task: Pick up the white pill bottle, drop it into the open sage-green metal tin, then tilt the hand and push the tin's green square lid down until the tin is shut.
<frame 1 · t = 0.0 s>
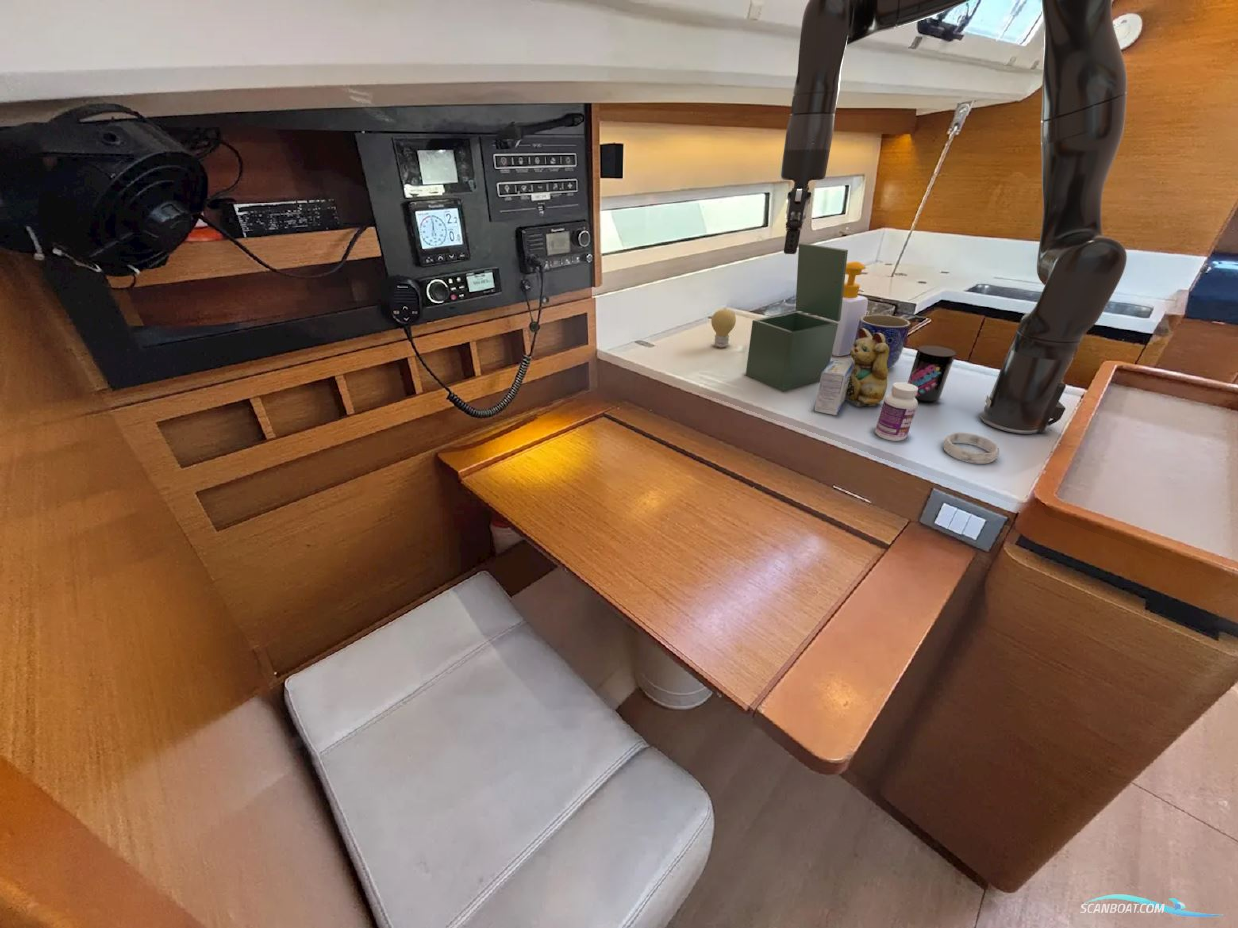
hand: (790, 250, 93), 29 cm above the table, tool pointing down, fingers open, 8 cm apart
green square lid: (819, 282, 109), point 21 cm above the table, hinge at 80.0°
planter: (872, 366, 123), on the table
decorative figurine: (861, 401, 105), on the table
soap bottle: (828, 348, 134), on the table
ring: (968, 453, 86), on the table
medicine box: (828, 407, 103), on the table
light bulb: (720, 347, 137), on the table
supplement container: (920, 399, 106), on the table
pill bottle: (890, 435, 92), on the table
tin: (785, 376, 117), on the table
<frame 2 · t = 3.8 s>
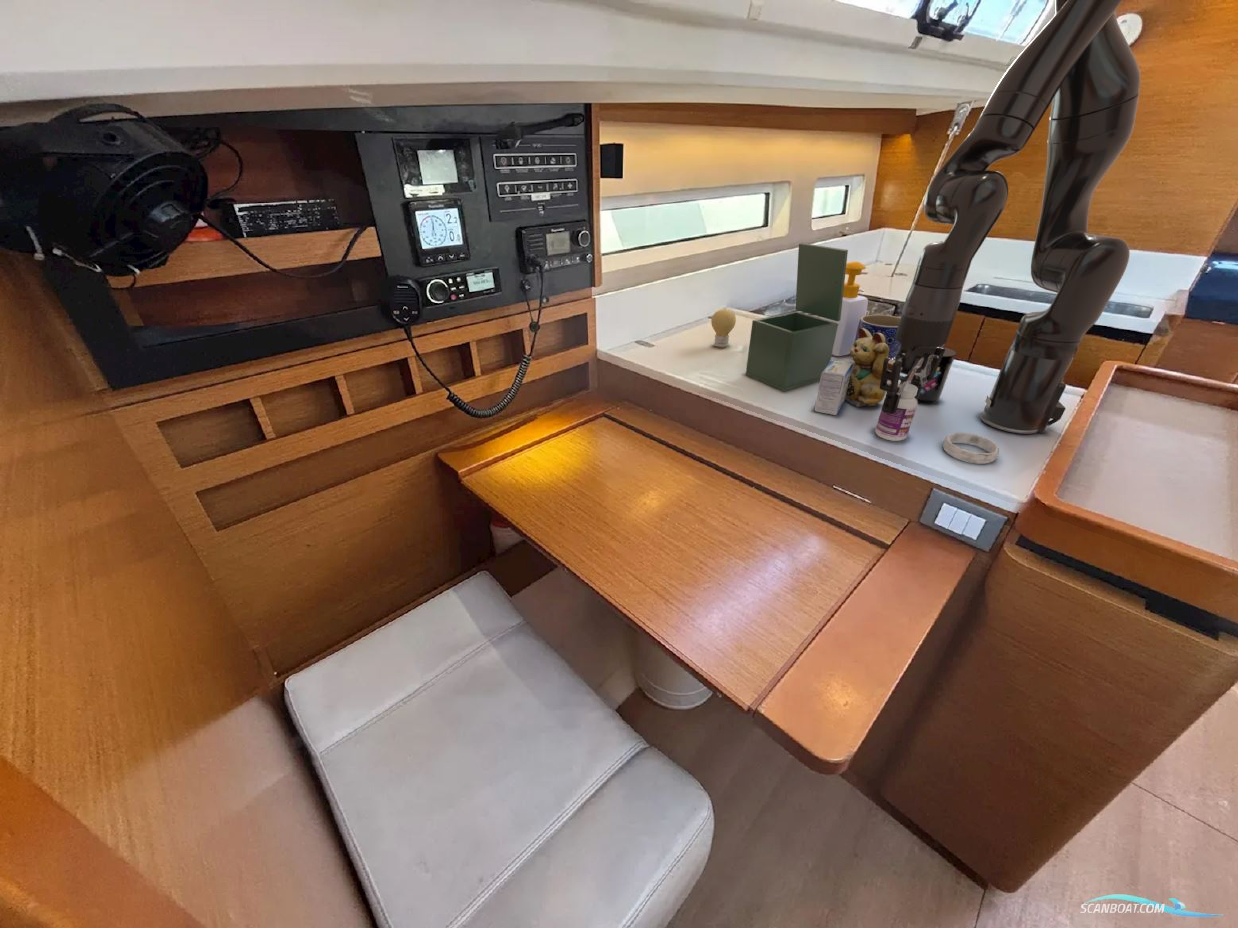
hand: (898, 407, 89), 5 cm above the table, tool pointing down, fingers closed on pill bottle, 5 cm apart
pill bottle: (890, 435, 92), on the table, touching gripper
everything else where it was.
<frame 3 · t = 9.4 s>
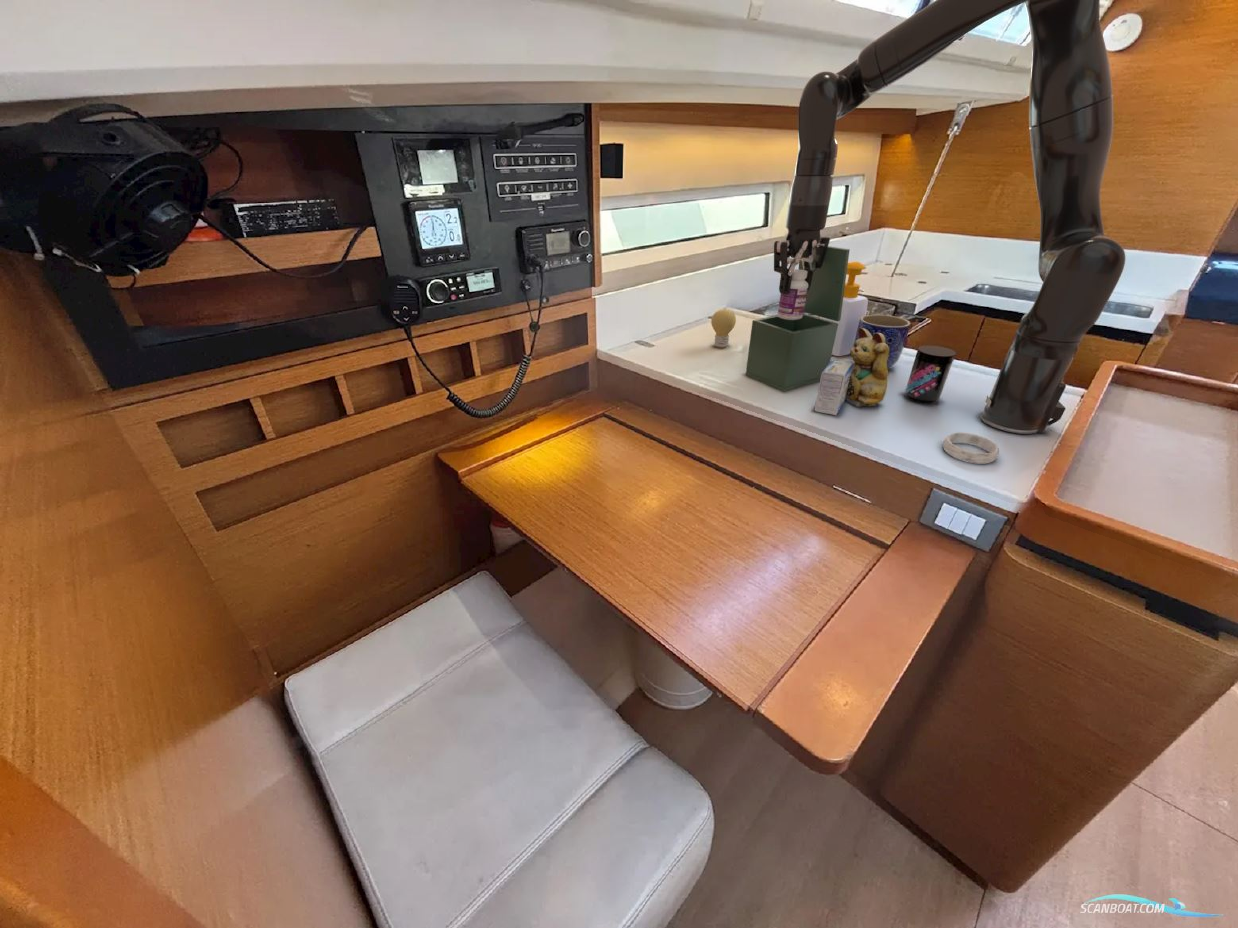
hand: (794, 291, 106), 20 cm above the table, tool pointing down, fingers closed on pill bottle, 5 cm apart
green square lid: (820, 282, 109), point 21 cm above the table, hinge at 82.0°
pill bottle: (789, 318, 109), point 14 cm above the table, touching gripper
everything else where it was.
when the fingers open (15 cm above the table, at t = 11.3 s): pill bottle drops 7 cm, resting on tin.
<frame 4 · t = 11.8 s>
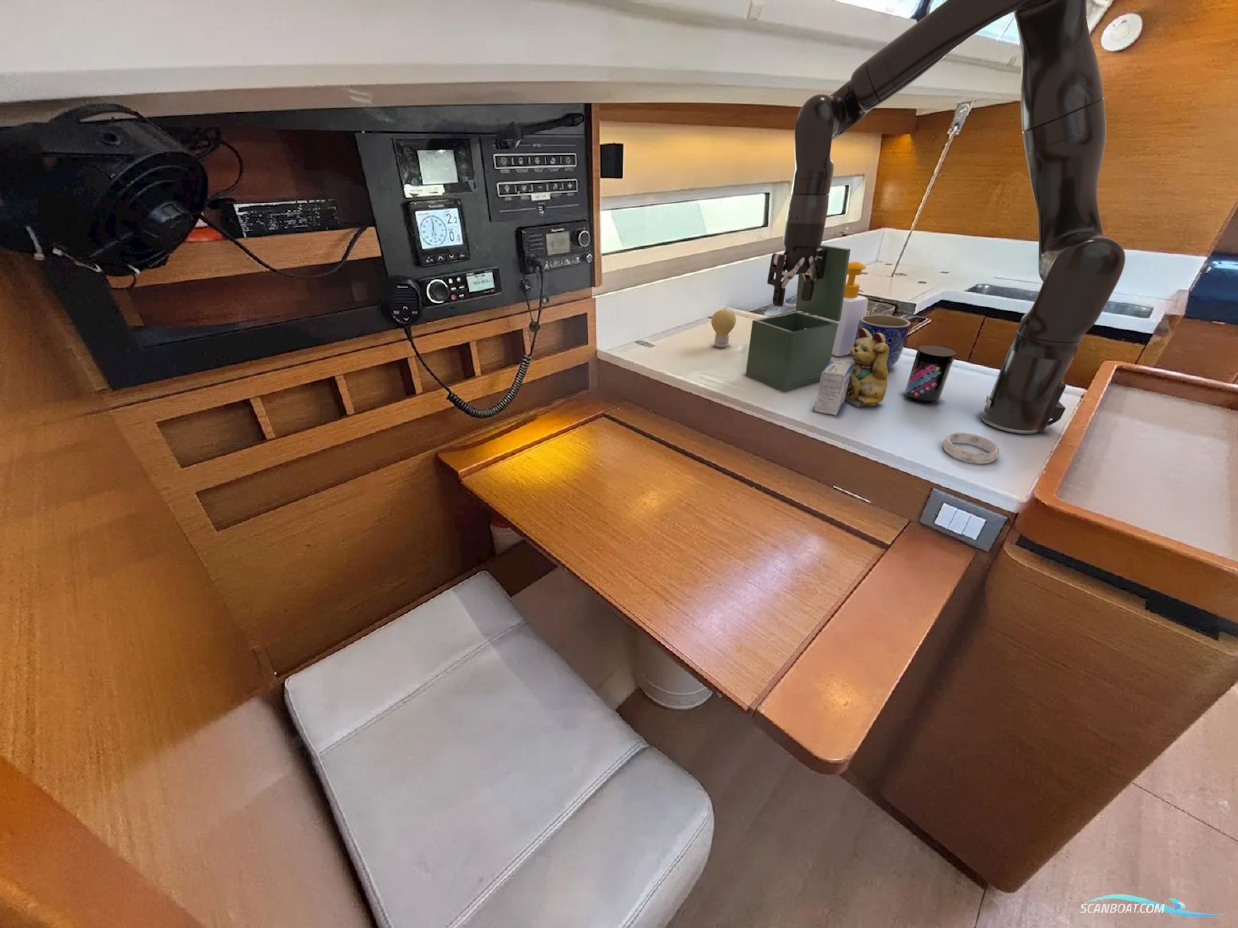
hand: (792, 303, 107), 17 cm above the table, tool pointing down, fingers open, 8 cm apart
green square lid: (820, 281, 109), point 21 cm above the table, hinge at 83.0°
pill bottle: (783, 369, 115), point 2 cm above the table, touching tin
everything else where it was.
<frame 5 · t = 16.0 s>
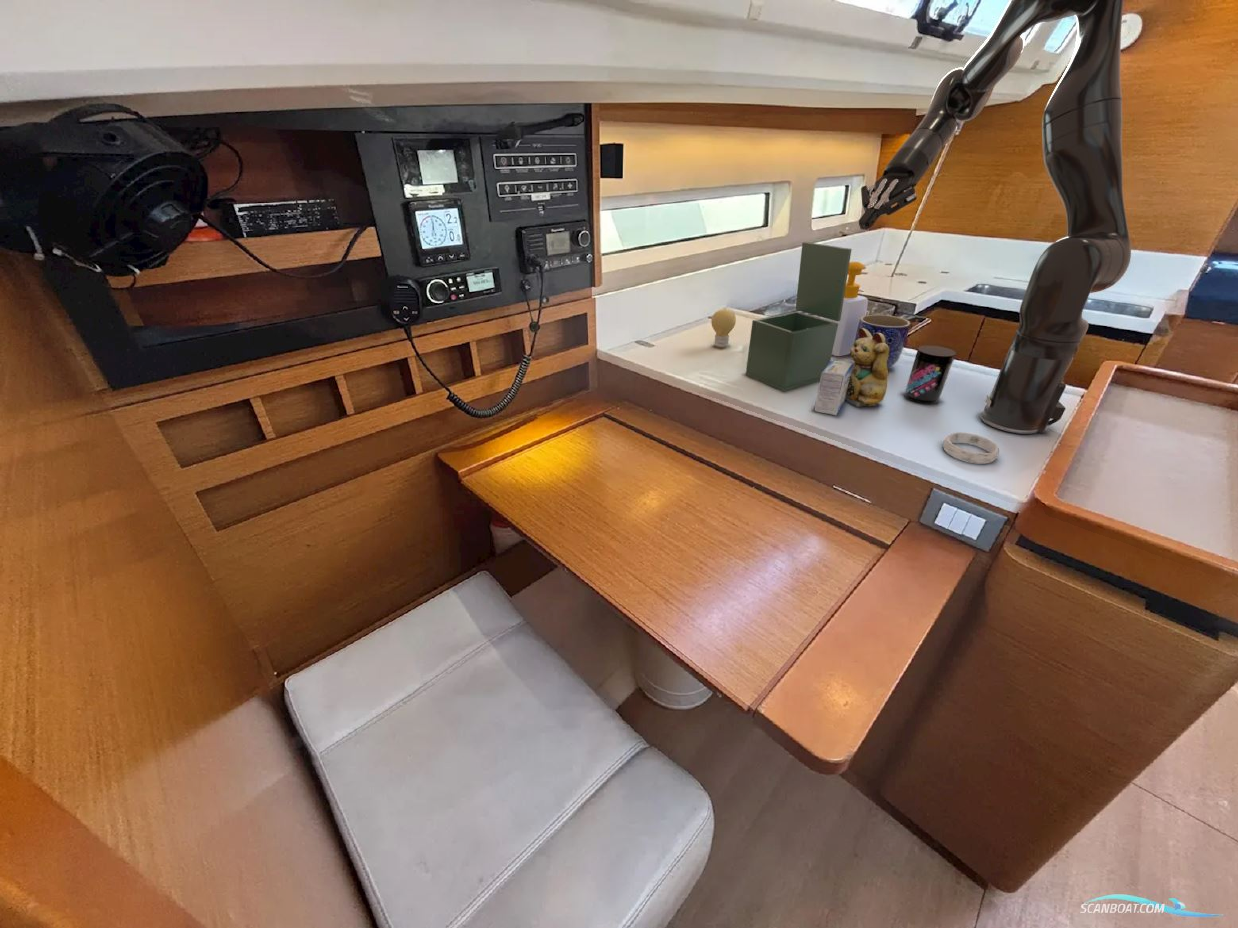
hand: (862, 227, 108), 31 cm above the table, tool tilted 45°, fingers closed
green square lid: (821, 281, 109), point 21 cm above the table, hinge at 84.3°
everything else where it was.
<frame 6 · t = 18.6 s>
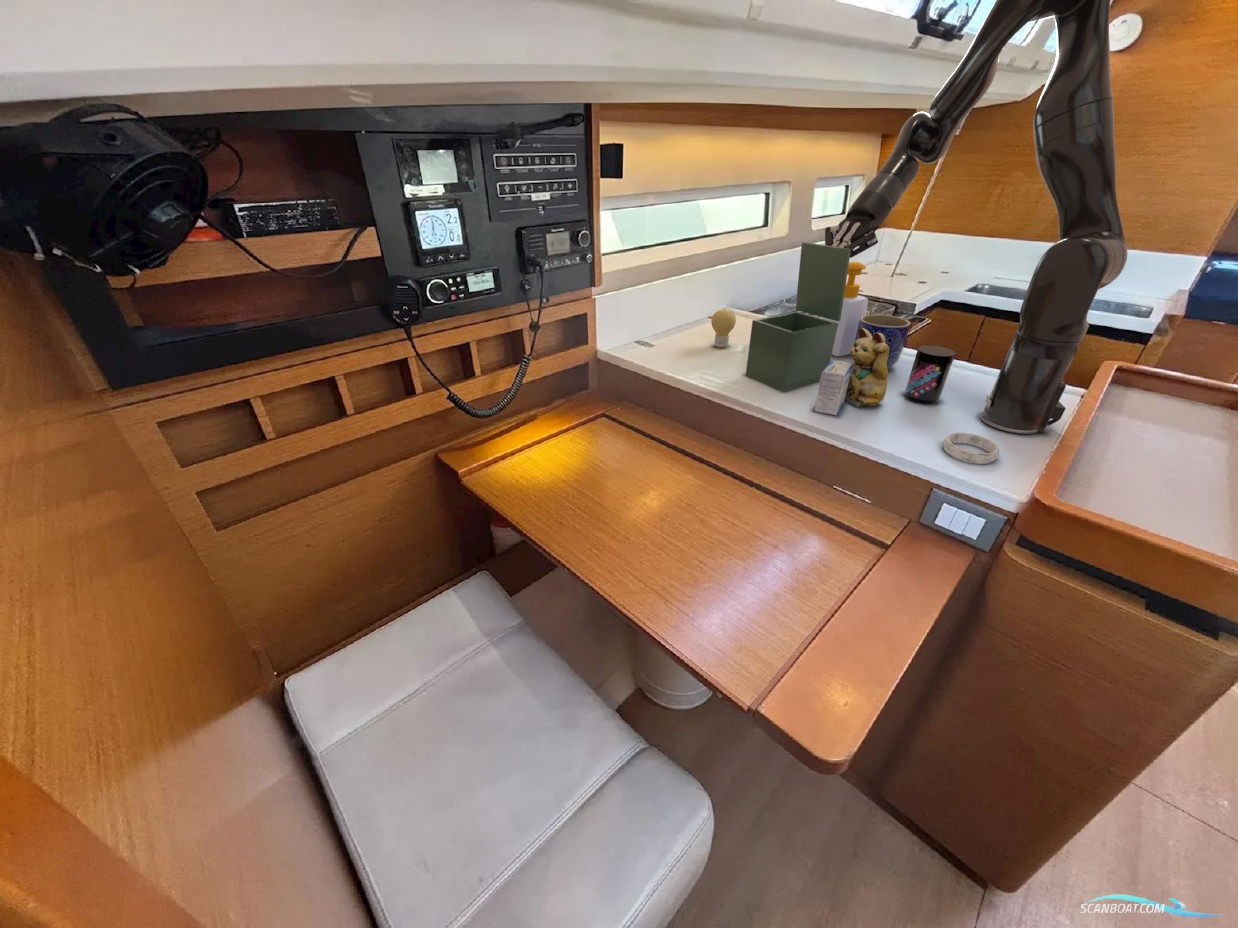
hand: (825, 269, 108), 23 cm above the table, tool tilted 45°, fingers closed
green square lid: (821, 281, 109), point 21 cm above the table, hinge at 83.5°, touching gripper
everything else where it was.
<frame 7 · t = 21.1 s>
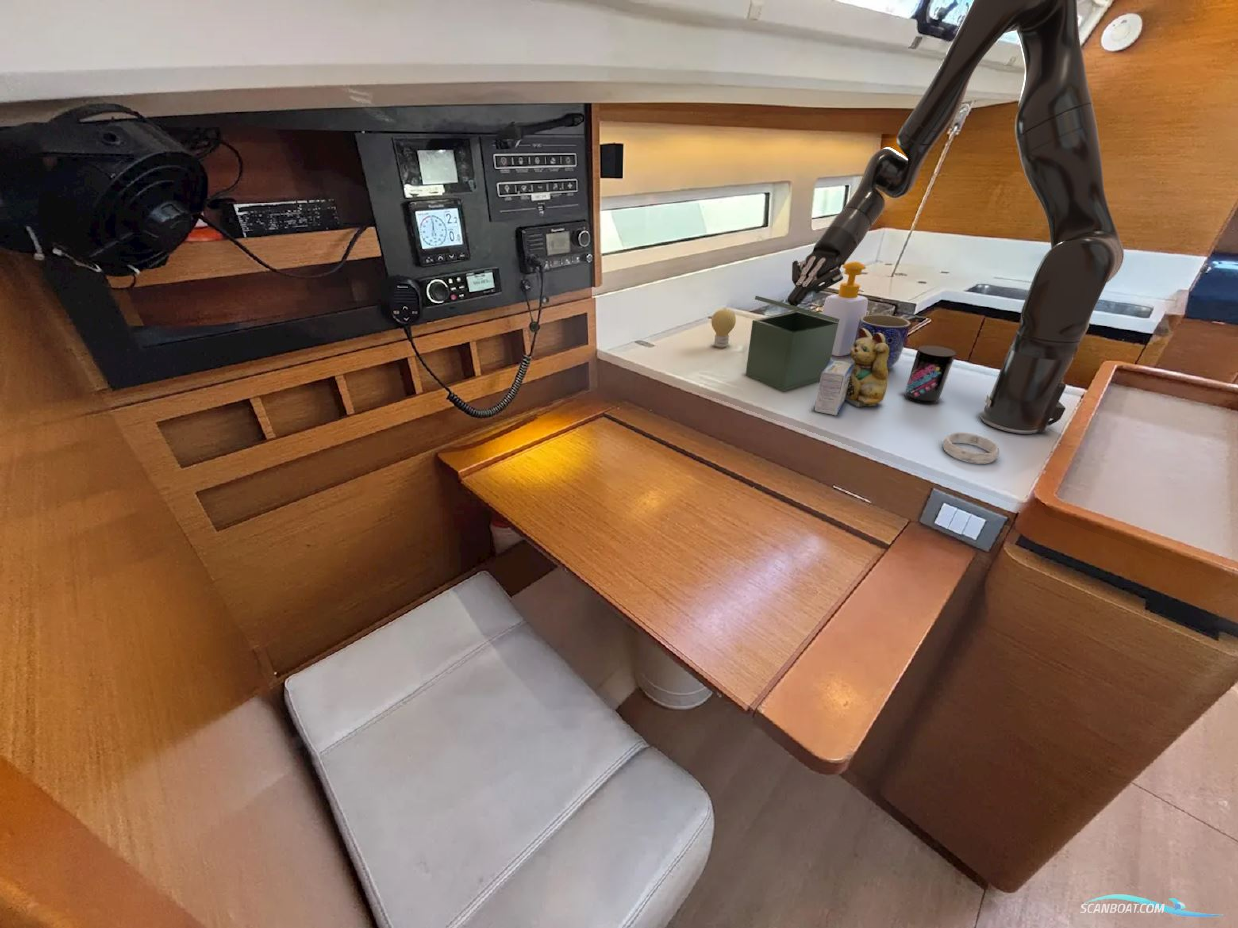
hand: (791, 303, 107), 17 cm above the table, tool tilted 45°, fingers closed
green square lid: (797, 309, 109), point 16 cm above the table, hinge at 17.8°, touching gripper
everything else where it was.
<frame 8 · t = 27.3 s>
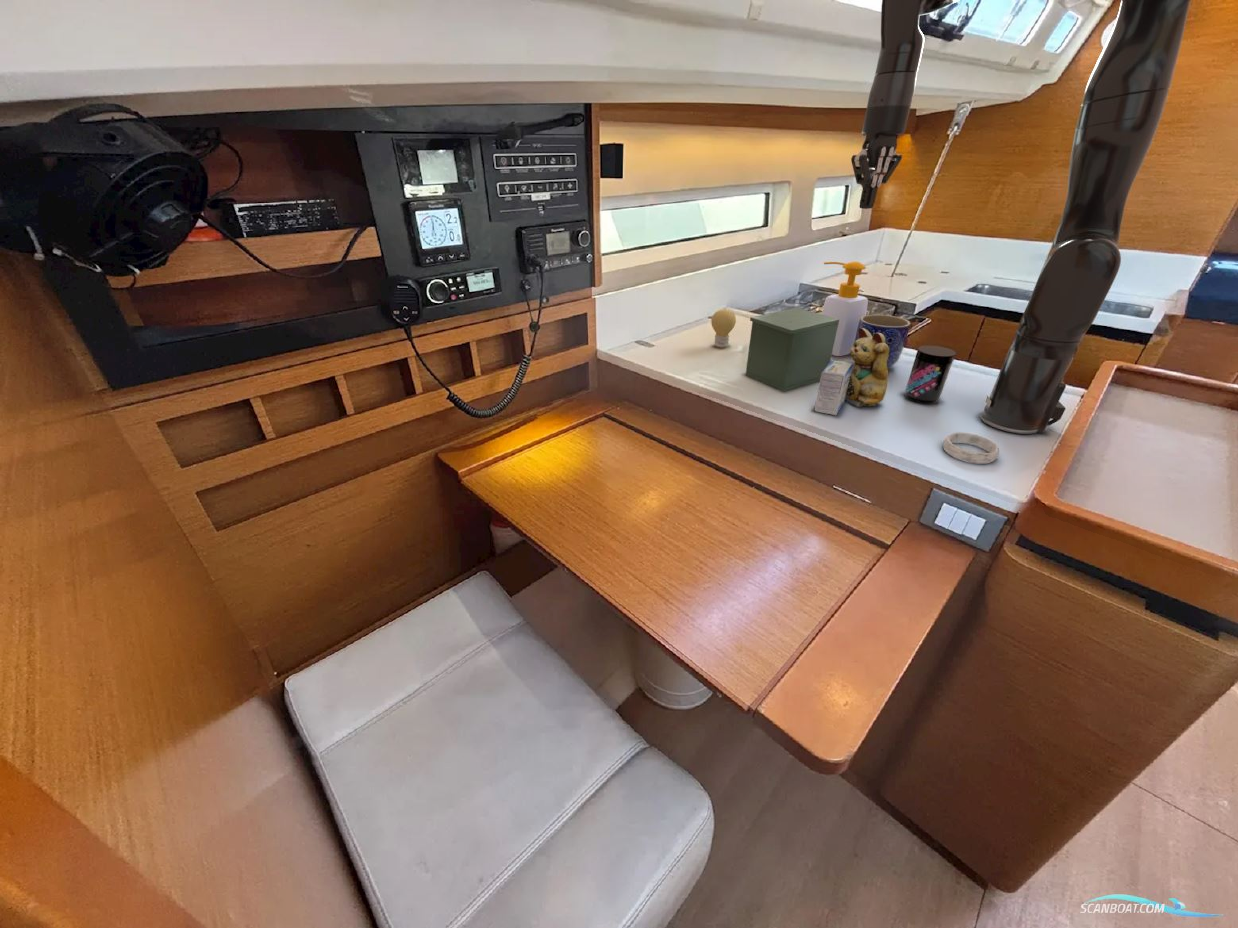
hand: (865, 208, 102), 35 cm above the table, tool pointing down, fingers closed
green square lid: (794, 320, 110), point 13 cm above the table, hinge at -0.2°, touching tin
everything else where it was.
at the end: pill bottle inside the target area in the tin (1.3 cm from its centre), point 2.4 cm above the tin's base; green square lid at +0° (first picture: +80°) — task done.
